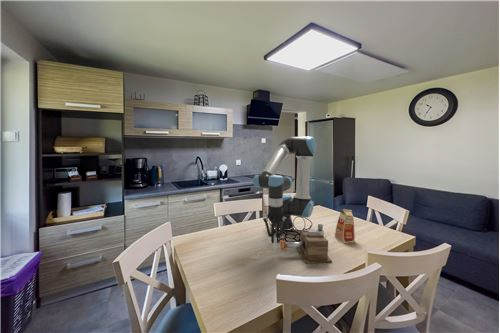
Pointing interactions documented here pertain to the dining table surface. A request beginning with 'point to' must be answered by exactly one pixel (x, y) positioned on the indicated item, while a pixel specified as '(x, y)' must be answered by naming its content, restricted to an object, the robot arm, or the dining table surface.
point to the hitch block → (314, 249)
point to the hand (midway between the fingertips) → (274, 248)
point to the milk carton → (345, 227)
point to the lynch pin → (291, 245)
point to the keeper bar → (316, 231)
